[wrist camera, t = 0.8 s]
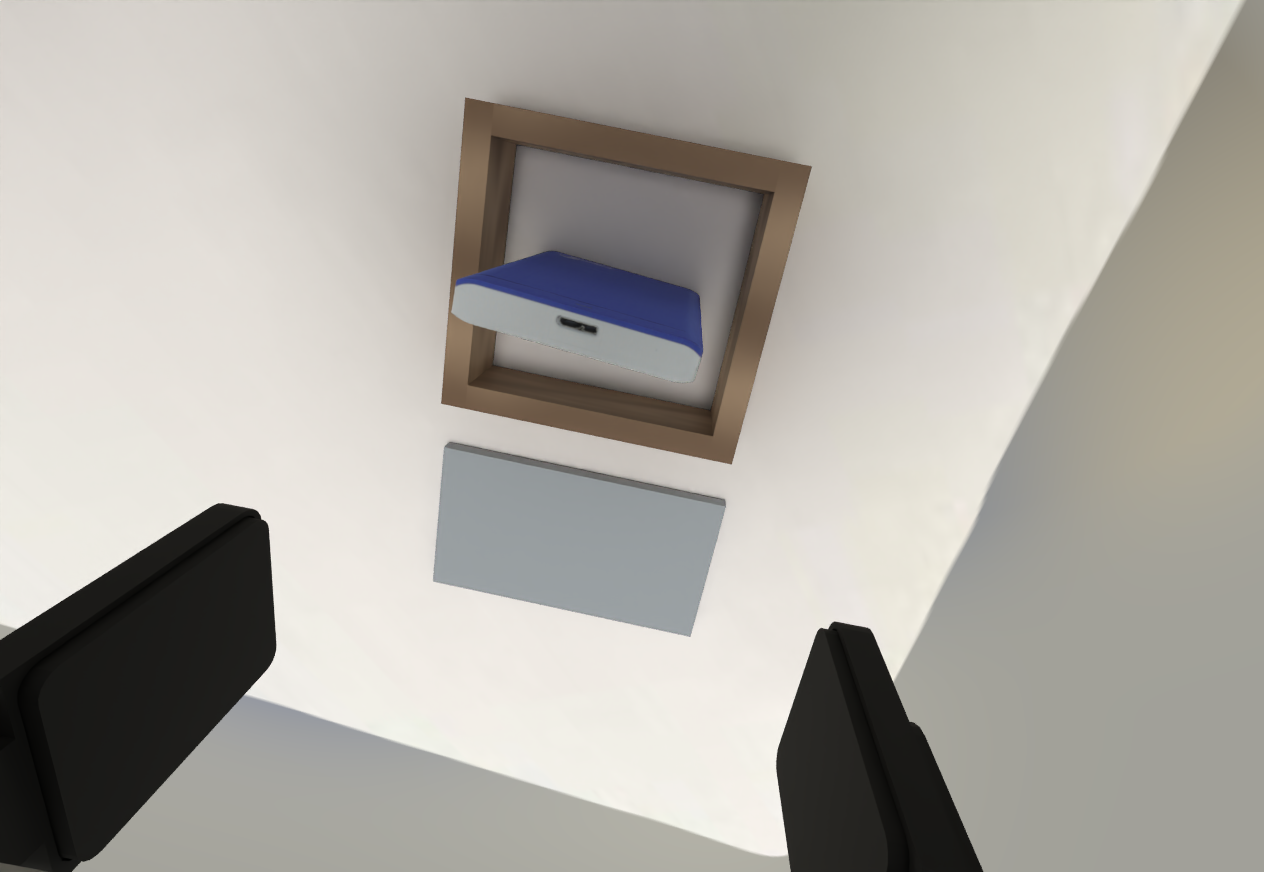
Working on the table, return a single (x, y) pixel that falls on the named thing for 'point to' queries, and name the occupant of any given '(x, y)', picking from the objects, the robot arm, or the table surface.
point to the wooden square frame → (587, 406)
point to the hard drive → (588, 312)
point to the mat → (574, 539)
